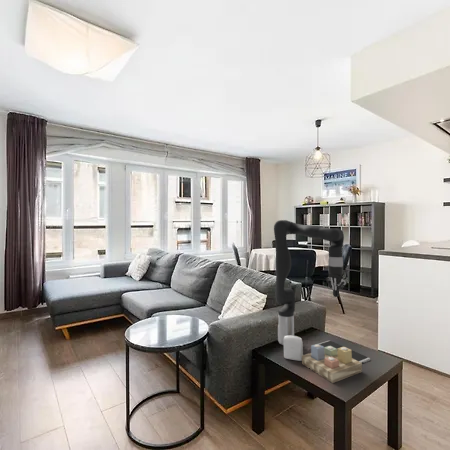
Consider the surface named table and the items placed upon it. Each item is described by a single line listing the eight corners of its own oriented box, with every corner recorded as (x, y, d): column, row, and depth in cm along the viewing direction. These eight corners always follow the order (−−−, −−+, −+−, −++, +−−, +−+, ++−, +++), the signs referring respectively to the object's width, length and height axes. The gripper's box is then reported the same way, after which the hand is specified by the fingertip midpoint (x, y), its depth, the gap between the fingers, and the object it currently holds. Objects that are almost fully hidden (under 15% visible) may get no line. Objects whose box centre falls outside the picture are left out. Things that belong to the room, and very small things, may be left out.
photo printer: (283, 358, 155) (282, 336, 155) (284, 355, 159) (284, 333, 159) (302, 362, 151) (302, 338, 151) (303, 358, 155) (303, 335, 155)
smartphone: (354, 367, 146) (354, 364, 146) (314, 347, 169) (314, 344, 169) (370, 361, 152) (370, 358, 152) (329, 342, 176) (329, 339, 176)
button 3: (324, 370, 140) (324, 357, 139) (331, 368, 142) (331, 355, 142) (332, 375, 135) (331, 361, 135) (338, 372, 138) (338, 359, 137)
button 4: (337, 360, 144) (337, 347, 144) (344, 358, 146) (343, 345, 146) (345, 364, 139) (345, 351, 139) (351, 362, 142) (351, 349, 142)
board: (302, 364, 149) (302, 355, 149) (330, 355, 158) (329, 347, 158) (332, 383, 131) (332, 373, 131) (361, 372, 140) (361, 362, 140)
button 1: (311, 357, 148) (311, 344, 147) (317, 355, 150) (317, 343, 150) (317, 360, 143) (317, 348, 143) (324, 358, 146) (324, 346, 145)
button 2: (324, 358, 152) (323, 346, 152) (330, 356, 154) (330, 345, 154) (330, 362, 148) (330, 350, 147) (337, 360, 150) (337, 348, 150)
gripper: (321, 264, 160) (321, 295, 160) (340, 267, 148) (341, 300, 148) (331, 263, 163) (331, 293, 164) (350, 266, 152) (351, 298, 152)
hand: (336, 296), depth 156 cm, fingers closed
